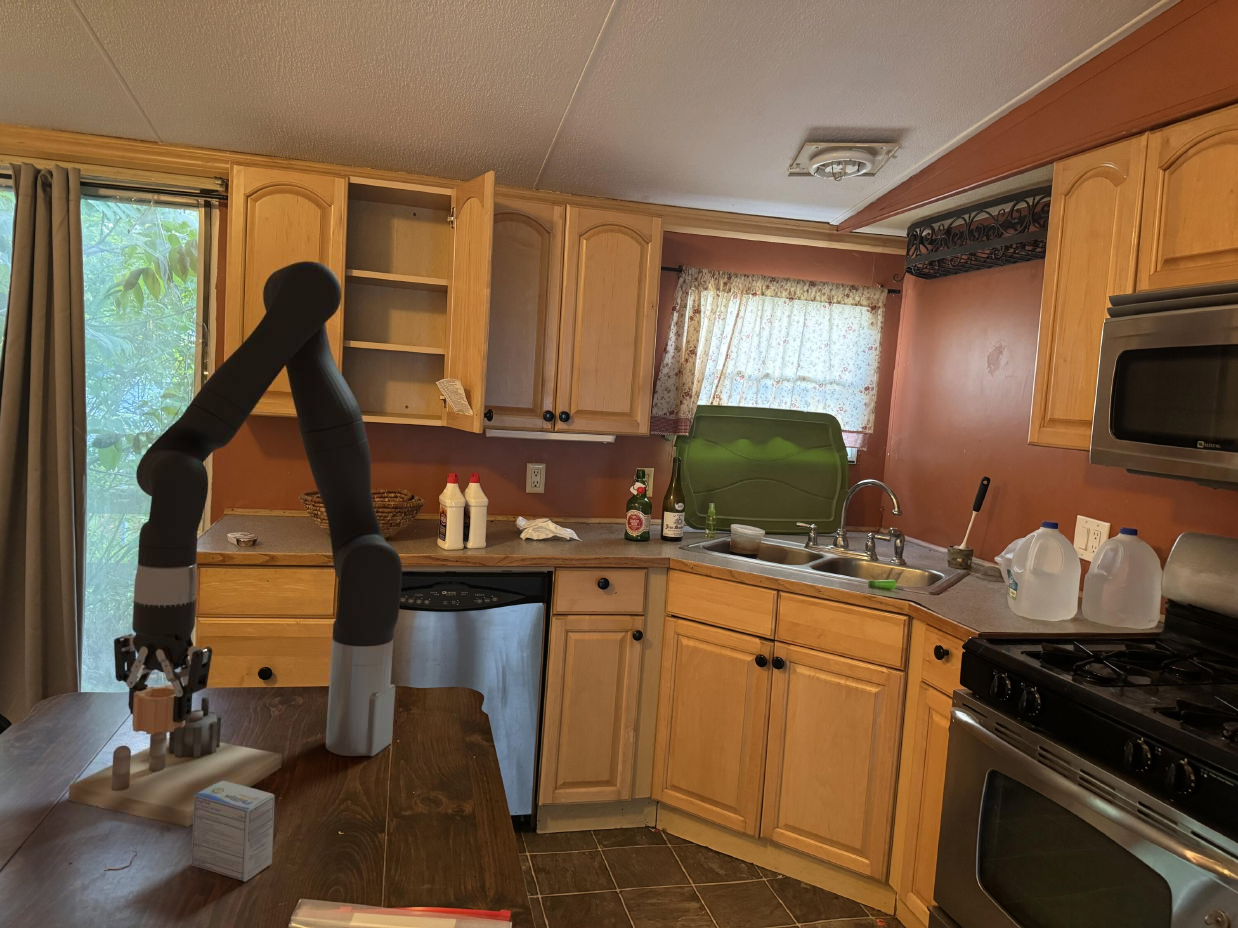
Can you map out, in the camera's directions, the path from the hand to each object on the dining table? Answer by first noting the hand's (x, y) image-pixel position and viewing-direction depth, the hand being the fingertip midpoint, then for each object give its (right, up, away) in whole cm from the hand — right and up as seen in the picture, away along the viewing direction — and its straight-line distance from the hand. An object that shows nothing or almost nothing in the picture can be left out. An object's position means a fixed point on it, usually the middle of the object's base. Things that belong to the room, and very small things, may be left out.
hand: (159, 716), depth 117 cm
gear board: (+3, -9, +1) cm, 10 cm away
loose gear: (0, -1, 0) cm, 1 cm away
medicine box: (+18, -12, -18) cm, 28 cm away
